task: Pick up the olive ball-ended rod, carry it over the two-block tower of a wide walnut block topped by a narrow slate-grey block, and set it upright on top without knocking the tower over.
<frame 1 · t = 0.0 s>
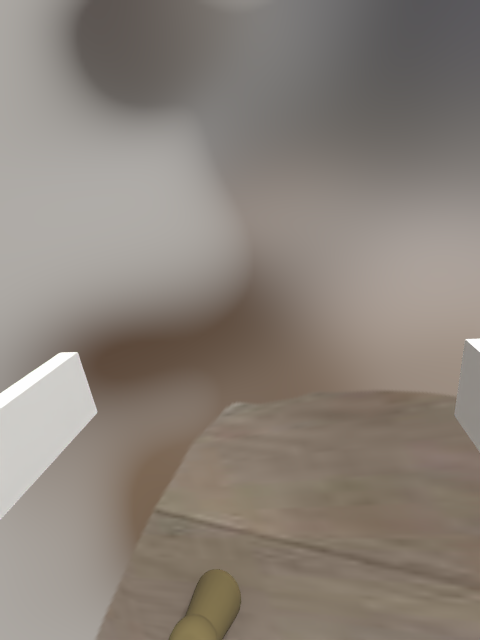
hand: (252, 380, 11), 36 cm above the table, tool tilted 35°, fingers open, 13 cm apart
olive ball-ended rod: (218, 595, 41), on the table
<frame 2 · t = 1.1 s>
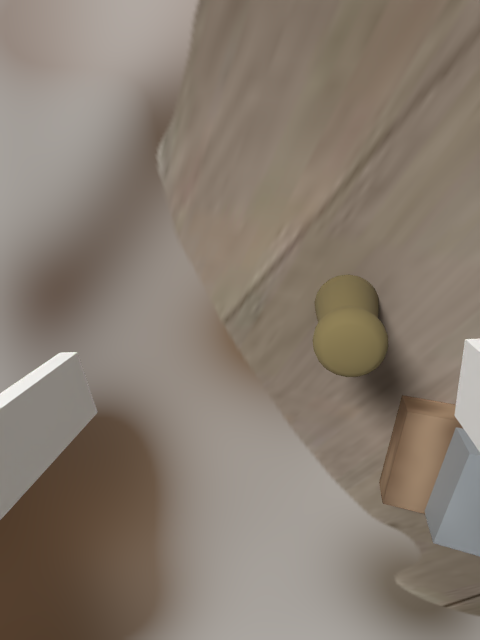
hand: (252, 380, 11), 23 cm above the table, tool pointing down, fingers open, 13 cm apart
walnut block: (448, 450, 35), on the table, touching slate-grey block
slate-grey block: (461, 477, 32), point 3 cm above the table, touching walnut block
olive ball-ended rod: (345, 304, 32), on the table
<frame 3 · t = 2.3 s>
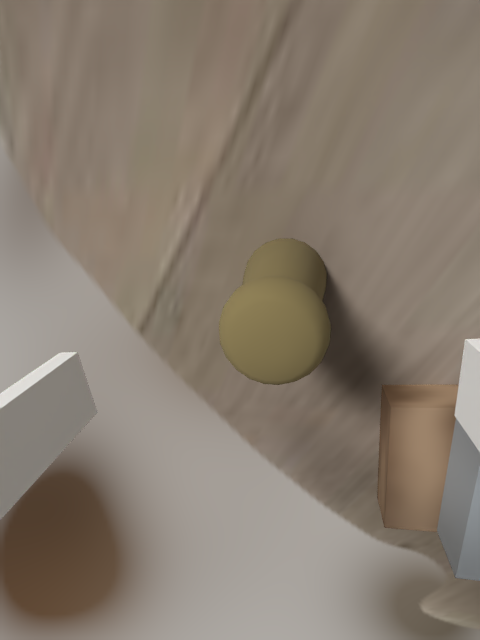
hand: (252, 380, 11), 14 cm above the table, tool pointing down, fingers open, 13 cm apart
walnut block: (455, 442, 27), on the table, touching slate-grey block
slate-grey block: (475, 480, 24), point 3 cm above the table, touching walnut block
olive ball-ended rod: (284, 279, 24), on the table
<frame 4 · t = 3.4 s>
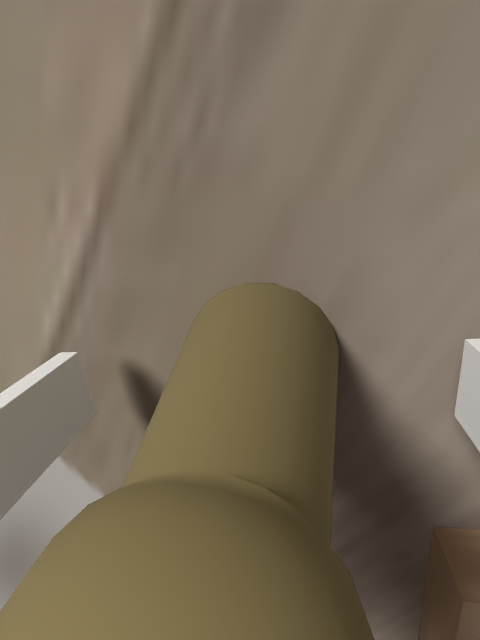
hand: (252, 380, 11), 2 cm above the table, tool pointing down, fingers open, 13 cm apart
olive ball-ended rod: (261, 353, 13), on the table
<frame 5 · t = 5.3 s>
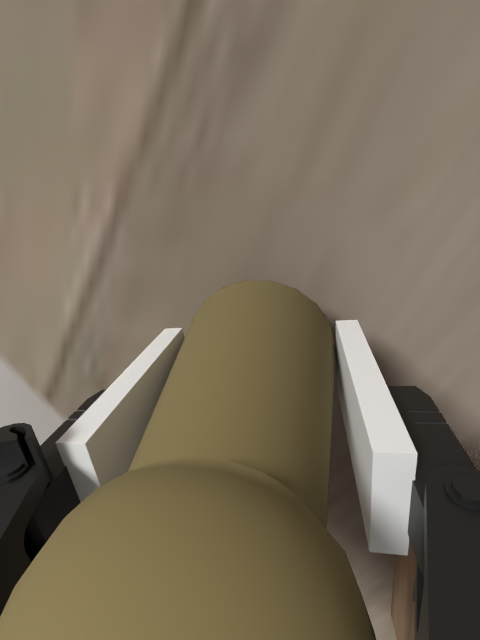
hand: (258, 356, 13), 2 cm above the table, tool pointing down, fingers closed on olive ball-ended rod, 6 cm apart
olive ball-ended rod: (259, 349, 13), point 2 cm above the table, touching gripper
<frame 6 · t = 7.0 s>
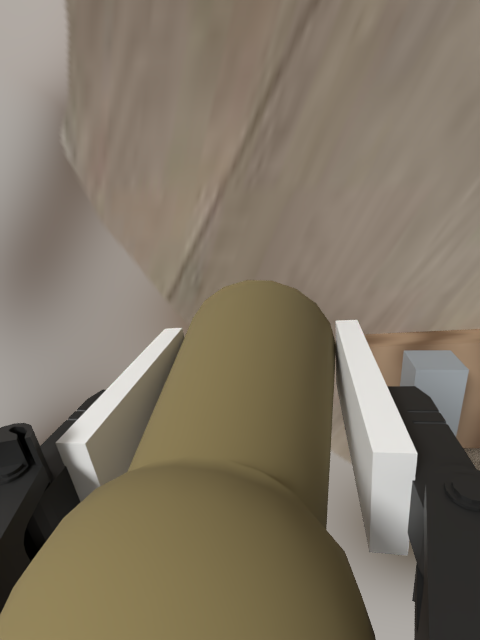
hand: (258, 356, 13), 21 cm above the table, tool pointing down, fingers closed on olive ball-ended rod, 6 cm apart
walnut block: (410, 380, 35), on the table, touching slate-grey block
slate-grey block: (420, 400, 32), point 3 cm above the table, touching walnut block
olive ball-ended rod: (259, 349, 13), point 20 cm above the table, touching gripper
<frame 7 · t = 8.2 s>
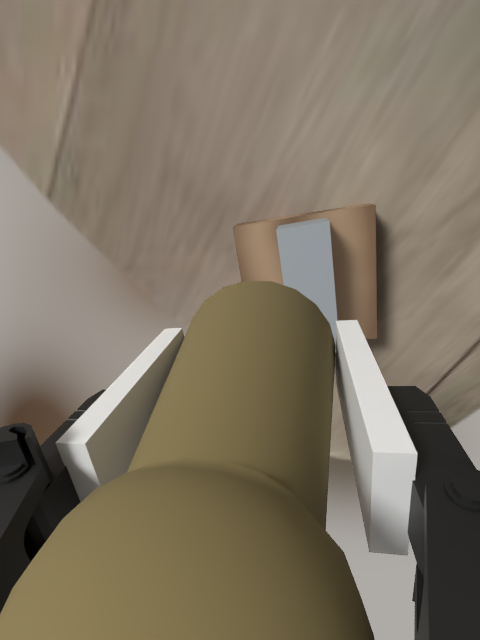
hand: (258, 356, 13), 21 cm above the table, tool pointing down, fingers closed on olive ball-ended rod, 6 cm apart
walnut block: (306, 275, 33), on the table
slate-grey block: (308, 283, 30), point 3 cm above the table
olive ball-ended rod: (259, 349, 13), point 20 cm above the table, touching gripper
when the fingers open (7 cm above the table, at t = 13.6 s): olive ball-ended rod stays where it is, resting on slate-grey block.
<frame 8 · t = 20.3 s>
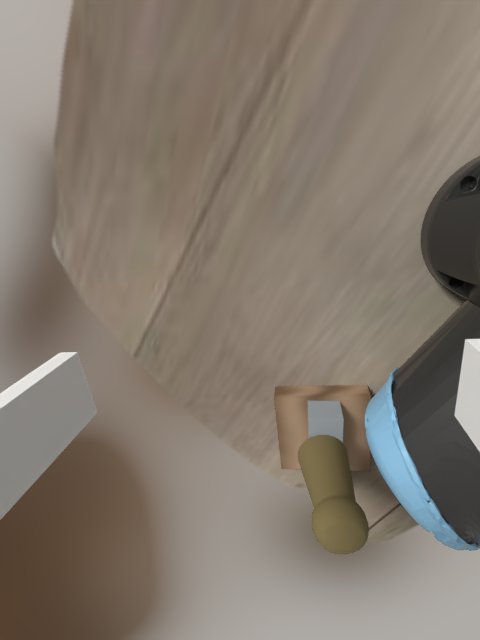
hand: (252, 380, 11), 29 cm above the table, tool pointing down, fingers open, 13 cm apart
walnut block: (321, 418, 46), on the table, touching slate-grey block
slate-grey block: (323, 435, 43), point 3 cm above the table, touching olive ball-ended rod, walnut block
olive ball-ended rod: (322, 454, 40), point 6 cm above the table, touching slate-grey block
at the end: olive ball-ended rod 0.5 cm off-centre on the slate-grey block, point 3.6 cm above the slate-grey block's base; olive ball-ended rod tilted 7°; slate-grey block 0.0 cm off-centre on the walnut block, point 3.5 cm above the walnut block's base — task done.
